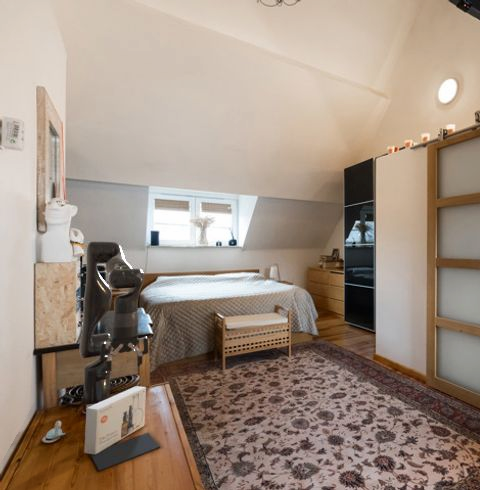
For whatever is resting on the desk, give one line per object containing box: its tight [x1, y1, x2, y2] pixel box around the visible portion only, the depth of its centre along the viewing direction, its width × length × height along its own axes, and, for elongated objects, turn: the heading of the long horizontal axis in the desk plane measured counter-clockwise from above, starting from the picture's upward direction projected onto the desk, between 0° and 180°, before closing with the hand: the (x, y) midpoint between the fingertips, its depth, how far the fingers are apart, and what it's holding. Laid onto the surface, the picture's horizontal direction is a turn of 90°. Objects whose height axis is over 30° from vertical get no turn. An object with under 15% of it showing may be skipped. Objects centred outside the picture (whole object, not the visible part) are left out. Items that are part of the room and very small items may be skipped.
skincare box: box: [83, 385, 147, 455], centre depth 132 cm, size 21×6×16 cm, turn 168°
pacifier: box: [41, 420, 66, 444], centre depth 131 cm, size 7×6×6 cm
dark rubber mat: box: [89, 432, 161, 472], centre depth 125 cm, size 13×18×1 cm
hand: (124, 368), depth 126 cm, fingers open, 8 cm apart
